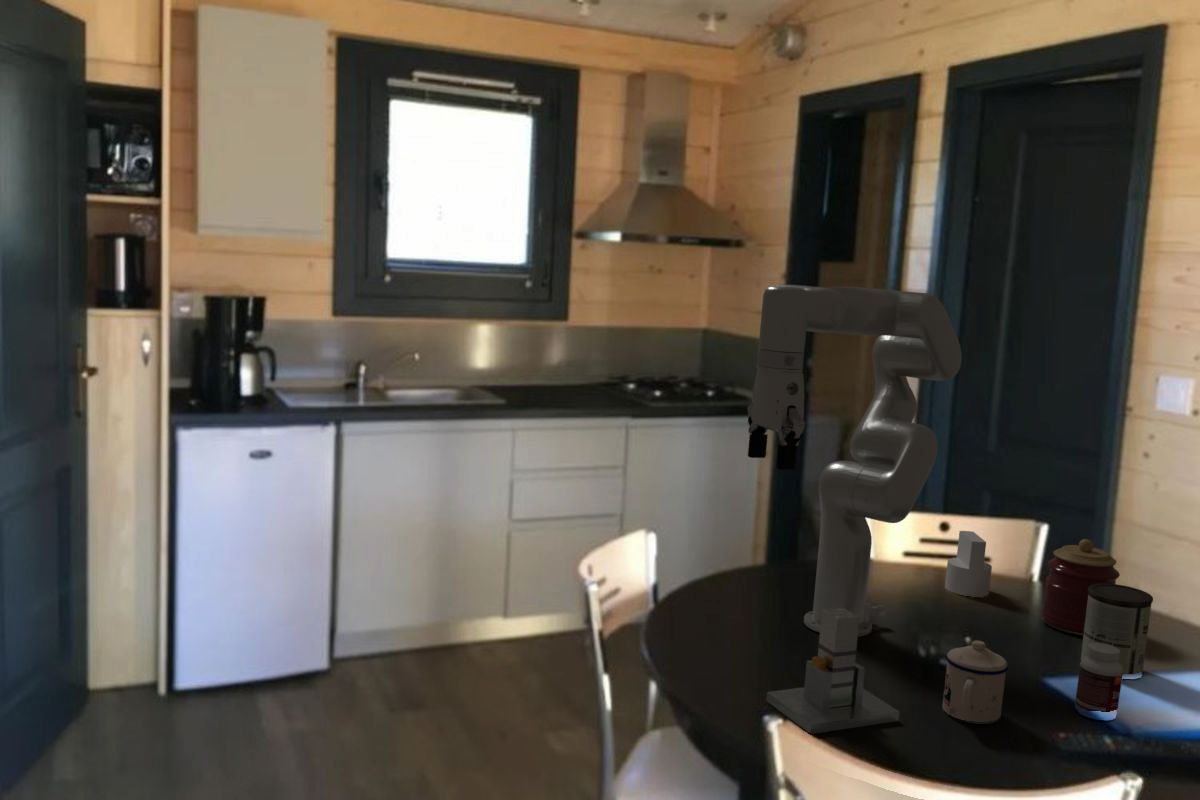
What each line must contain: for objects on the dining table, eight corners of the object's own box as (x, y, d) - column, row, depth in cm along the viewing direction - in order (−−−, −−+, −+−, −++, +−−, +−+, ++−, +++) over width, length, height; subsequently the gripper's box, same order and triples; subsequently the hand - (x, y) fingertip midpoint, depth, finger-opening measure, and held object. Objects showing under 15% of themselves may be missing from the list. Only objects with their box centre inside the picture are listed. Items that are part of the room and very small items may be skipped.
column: (835, 694, 172) (843, 607, 170) (851, 705, 168) (860, 616, 166) (813, 697, 170) (821, 610, 168) (829, 708, 166) (837, 619, 164)
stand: (850, 689, 178) (855, 638, 177) (898, 720, 167) (904, 666, 166) (766, 701, 172) (770, 647, 170) (810, 734, 161) (815, 677, 159)
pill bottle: (1118, 726, 170) (1127, 658, 169) (1074, 717, 172) (1083, 650, 171) (1115, 711, 176) (1124, 645, 174) (1073, 703, 178) (1081, 637, 177)
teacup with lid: (946, 697, 178) (954, 627, 176) (1005, 710, 173) (1014, 640, 172) (931, 723, 167) (939, 650, 165) (994, 739, 163) (1003, 663, 161)
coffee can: (1076, 654, 201) (1086, 579, 199) (1138, 664, 198) (1148, 588, 196) (1081, 673, 191) (1091, 595, 189) (1146, 684, 188) (1157, 605, 186)
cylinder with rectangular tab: (994, 598, 231) (1001, 543, 230) (951, 596, 231) (957, 540, 230) (980, 585, 240) (986, 532, 238) (939, 583, 240) (945, 529, 239)
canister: (1093, 643, 207) (1105, 552, 205) (1028, 622, 217) (1038, 535, 214) (1123, 630, 216) (1135, 542, 213) (1059, 611, 226) (1070, 527, 223)
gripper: (827, 368, 175) (817, 473, 177) (774, 356, 191) (765, 453, 193) (786, 366, 173) (776, 474, 175) (735, 355, 189) (727, 453, 191)
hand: (770, 463), depth 184 cm, fingers open, 9 cm apart
